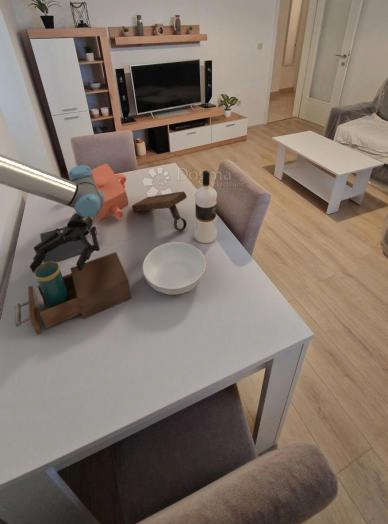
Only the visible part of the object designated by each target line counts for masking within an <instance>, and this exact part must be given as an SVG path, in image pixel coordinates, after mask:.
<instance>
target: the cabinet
mask: <svg viewBox="0 0 388 524" xmlns="http://www.w3.org/2000/svg"><path fill="white" fill-rule="evenodd" d="M70 272H71V273H72V277H73V282H74V286H75V291H76V295H77V300H78V303H79V306H80V309H81V312H82V313H81V315H82V317H83V320H85V319H87V318H88V319H89V318H90V317H92V316H94V315H96V314H99V313H101V312H103V311H106V310H108V309H111V308H113V307H115V306H117V305H120V304H122V303H124V302H127V301H130V300H131V299H132V293H131V292H132V291H131V288H130V282H129V278H128V276H127V274H126V272H125V269H124V266H123V265H122V262H121V260H120V257H119V255H118V253H117V252H116V251H115V252H112V253H109V254H107V255H104V256H101V257H97V258H95V259H92V260H88V261H86V262H85V264H84V266H83V268H82V271H79V270H78V267H77V265H76V266H71V267H70ZM71 273H70V274H71Z"/></svg>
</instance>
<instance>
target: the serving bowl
mask: <svg viewBox="0 0 388 524" xmlns="http://www.w3.org/2000/svg"><path fill="white" fill-rule="evenodd" d="M206 267H207V262H206V258H205V255H204V253H203V252H202V251H201V250H200V249H199V248H198V247H196V246H195V245H193V244H190V243H188V242H181V241H173V242H167V243H162V244H160V245H158V246H156V247H155V248H153V249H152V250H150V251H149V252H148V254H147V255H146V256H145V257H144V260H143V262H142V273H143V276H144V279H145V280H146V282H147V284H148V285H149V286H150V287H151V288H152V289H153V290H155V291H156V292H159V293H161V294H165V295H175V296H176V295H181V294H184V293H187V292H189V291H191V290H193V289H194V288H195V287H196V286H197V285H199V283H200V282H201V281H202V279H203V278H204V275H205V272H206Z"/></svg>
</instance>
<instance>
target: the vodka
mask: <svg viewBox="0 0 388 524" xmlns="http://www.w3.org/2000/svg"><path fill="white" fill-rule="evenodd" d="M210 184H211V171H209V170H203V171H202V186H201V187H198V188H197V189H196V191H195V193H194V203H195V204H194V205H195V206H194V207H195V209H194V210H195V215H194V219H195V221H194V222H195V225H194V230H193V237H194V239H195V240H196V241H197V242H199V243H201V244H209V243H212V242H214V241H215V240H216V238H217V237H218V232H217V227H216V226H217V224H216V223H217V203H218V202H217V199H218V192H217V190H216V189H214V188H213V187H212V186H211V185H210Z"/></svg>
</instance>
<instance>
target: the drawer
mask: <svg viewBox="0 0 388 524" xmlns="http://www.w3.org/2000/svg"><path fill="white" fill-rule="evenodd" d="M62 276H63V279H64V282H65V285H66V288H67V291H68V293H69V296H70V299H71V300H69V301H67V302H64V303H62V304H59V305H57V306H54V307H52V308H49V307H48V304H47V302H46V300H45V297H44V295H43V293H42V290H41V288H40V285H39V284H38V285H37V289H38V292H39V293H40V295H41V298H42V302H43V310H42V311H41V306H40V299H39V297H38V294H37V291H36V290H35V288H34V285H30V286H27V291H28V292H27V293H28V301H25V302H22V303H16V304H15V305H14V327H20V326H21V325H22V324H25V323H26V322H30V324H31V326H32V328H33V330H34V332H35V334H36V336H39V335H41V334H42V333H43V331H42V322H43V324H44V326H45V328H46V329H48V328H51V327H53V326H56V325H58V324H60V323H62V322H65V321H68V320H69V319H72V318H74V317H77V316H79V315H82V312H81V309H80V306H79V303H78V300H77V295H76V291H75V286H74V282H73V277H72V273H68V274H66V275H62ZM25 306H28V314H29V315H28V316H29V317H27V318H23V319H22V307H25ZM41 319H42V320H41Z"/></svg>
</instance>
